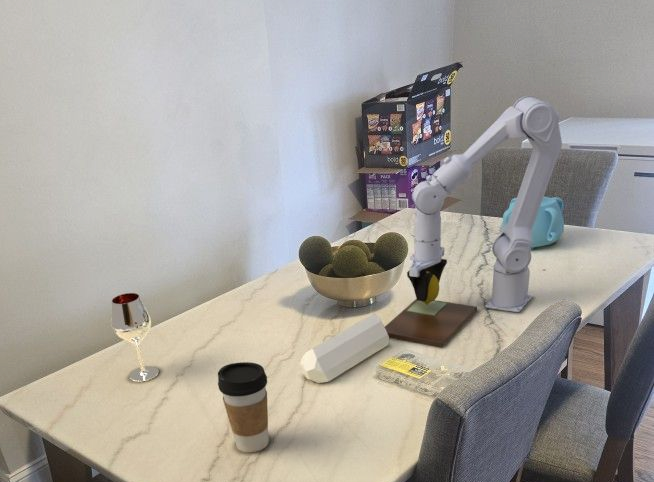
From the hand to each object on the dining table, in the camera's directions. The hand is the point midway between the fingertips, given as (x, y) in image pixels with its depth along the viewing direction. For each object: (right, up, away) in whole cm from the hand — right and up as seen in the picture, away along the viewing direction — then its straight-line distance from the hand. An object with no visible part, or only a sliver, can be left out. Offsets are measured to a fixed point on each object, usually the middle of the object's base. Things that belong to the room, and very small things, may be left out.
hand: (427, 295), depth 160 cm
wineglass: (-64, -19, -9) cm, 68 cm away
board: (0, -7, -3) cm, 8 cm away
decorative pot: (+36, +21, +33) cm, 53 cm away
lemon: (0, -2, +1) cm, 3 cm away
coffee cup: (-39, -33, -36) cm, 63 cm away
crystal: (-20, -17, -14) cm, 29 cm away
